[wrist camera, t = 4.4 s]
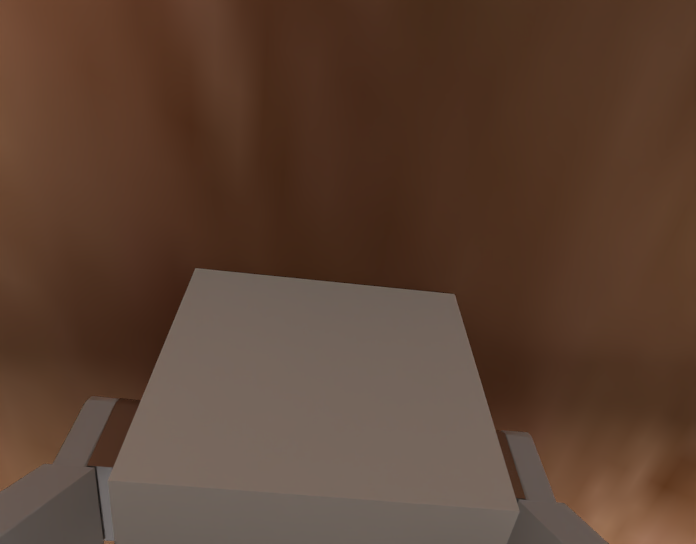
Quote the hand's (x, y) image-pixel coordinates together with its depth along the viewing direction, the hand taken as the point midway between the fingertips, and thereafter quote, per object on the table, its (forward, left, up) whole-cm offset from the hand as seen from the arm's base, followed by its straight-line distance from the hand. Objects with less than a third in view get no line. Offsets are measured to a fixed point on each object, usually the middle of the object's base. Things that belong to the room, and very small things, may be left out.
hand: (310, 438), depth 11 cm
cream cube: (0, 0, -2) cm, 2 cm away
